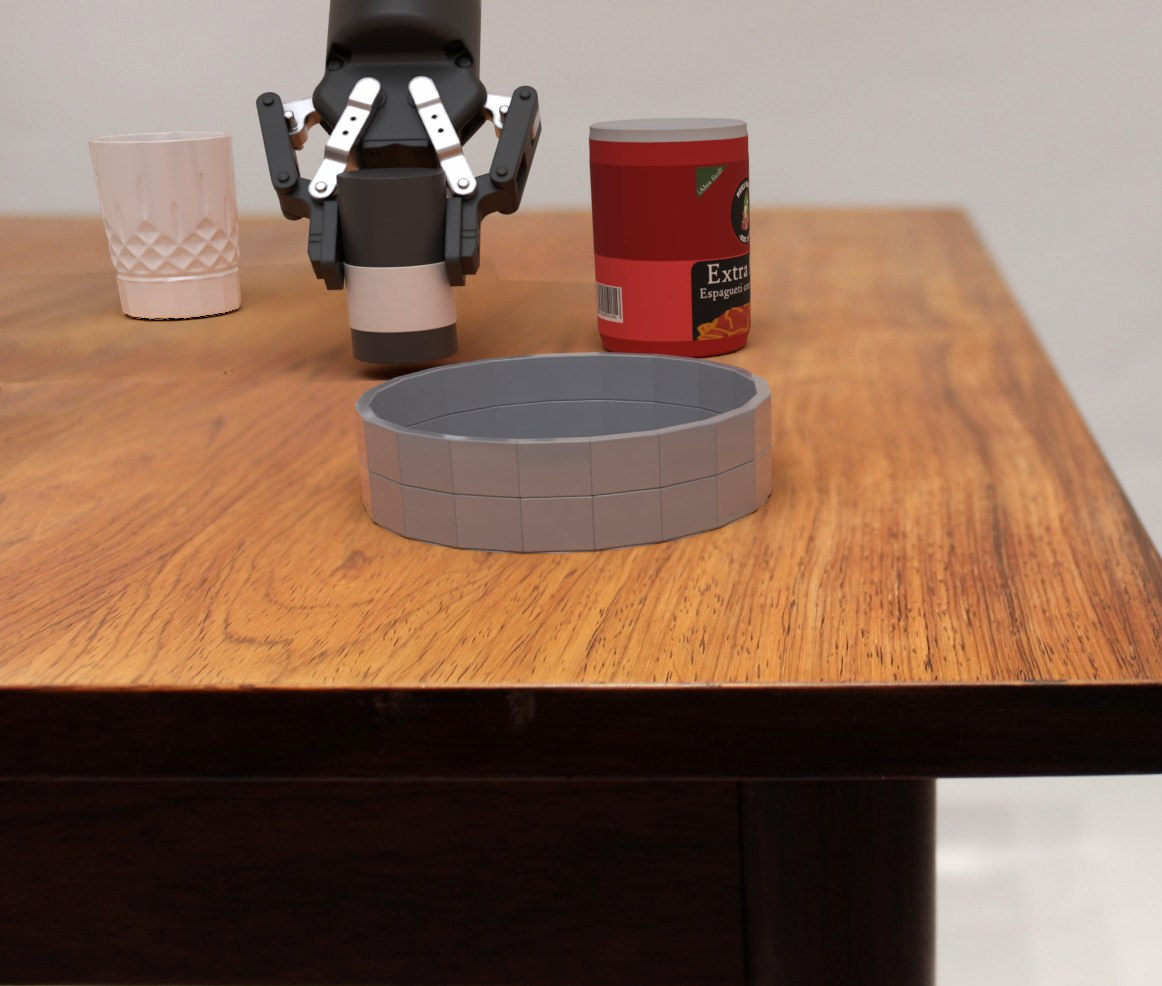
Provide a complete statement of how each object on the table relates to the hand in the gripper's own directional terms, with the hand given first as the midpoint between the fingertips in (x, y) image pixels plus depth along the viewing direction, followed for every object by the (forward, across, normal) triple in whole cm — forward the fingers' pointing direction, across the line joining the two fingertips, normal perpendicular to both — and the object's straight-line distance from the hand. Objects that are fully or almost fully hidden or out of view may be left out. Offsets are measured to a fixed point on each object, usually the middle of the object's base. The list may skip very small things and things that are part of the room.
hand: (392, 277), depth 78 cm
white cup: (-12, +16, -19) cm, 27 cm away
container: (+2, 0, -4) cm, 4 cm away
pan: (+19, -9, +12) cm, 24 cm away
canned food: (-1, -13, -8) cm, 15 cm away
